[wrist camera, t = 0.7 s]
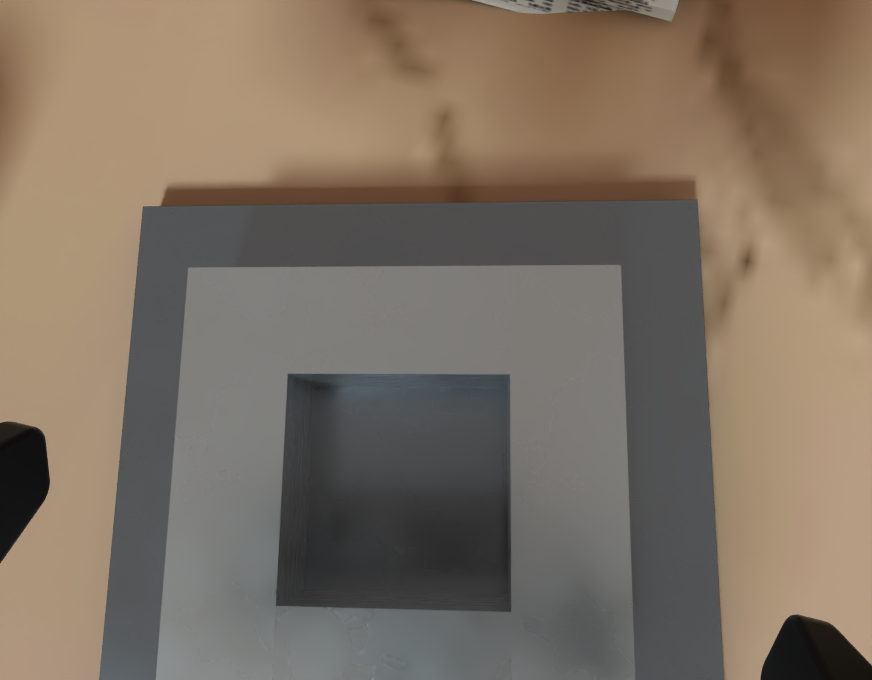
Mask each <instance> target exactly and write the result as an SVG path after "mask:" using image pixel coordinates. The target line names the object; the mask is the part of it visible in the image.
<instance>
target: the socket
mask: <svg viewBox="0 0 872 680" xmlns="http://www.w3.org/2000/svg"><path fill="white" fill-rule="evenodd" d="M99 680H724V670H723V652H722V634H721V616H720V599H719V581H718V563H717V545H716V527H715V509H714V491H713V473H712V455H711V437H710V419H709V401H708V383H707V365H706V347H705V329H704V311H703V293H702V275H701V257H700V239H699V221H698V203H697V200H640V201H557V202H475V203H393V204H311V205H229V206H146V207H143V212H142V223H141V234H140V244H139V255H138V266H137V277H136V288H135V299H134V309H133V320H132V331H131V342H130V353H129V364H128V374H127V385H126V396H125V407H124V418H123V429H122V439H121V450H120V461H119V472H118V483H117V494H116V504H115V515H114V526H113V537H112V548H111V559H110V569H109V580H108V591H107V602H106V613H105V624H104V634H103V645H102V656H101V667H100V678H99Z"/></svg>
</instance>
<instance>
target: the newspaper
mask: <svg viewBox="0 0 872 680" xmlns="http://www.w3.org/2000/svg"><path fill="white" fill-rule="evenodd" d="M474 1H477V2H481V3H485V4H489V5H493V6H496V7H500V8H504V9H508V10H512V11H515V12H519V13H533V14H551V13H564V12H592V11H620V10H630V11H633V12H637V13H641V14H645V15H648V16H652V17H656V18H659V19H663V20H667V21H670V22H672V19H673V17H674V14H675V12H676V9H677V6H678V3H679V0H474Z"/></svg>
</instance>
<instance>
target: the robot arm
mask: <svg viewBox="0 0 872 680" xmlns="http://www.w3.org/2000/svg"><path fill="white" fill-rule="evenodd" d="M49 484H50V477H49V468H48V459H47V450H46V440H45V436H44V434H43V433H42V431H41V430H40V429H38V428H36V427H33V426H29V425H25V424H20V423H16V422H2V423H0V563H1V561H2V560H3V559H4V557H5V556H6V554H7V553H8V552H9V550H10V549H11V547H12V546H13V544H14V543H15V542H16V540H17V539H18V537H19V536H20V535H21V533H22V532H23V530H24V529H25V527H26V526H27V525H28V523H29V522H30V520H31V519H32V518H33V516H34V515H35V513H36V512H37V510H38V509H39V508H40V506H41V505H42V503H43V502H44V500H45V498H46V496H47V493H48V490H49ZM761 680H872V665H871V664H870V663H869V662H868V661H867V660H866V659H865V658H864V657H863V656H862V655H861V654H860V653H859V652H858V651H857V650H856V649H855V647H854V646H853V645H852V644H851V643H850V642H849V641H848V640H847V639H846V638H845V637H844V636H843V635H842V634H841V633H840V632H839V631H838V630H837V629H836V628H835V627H834V626H833V625H832V624H830V623H828V622H825V621H822V620H818V619H813V618H809V617H805V616H801V615H792V616H789V617H788V618H787V619H786V621H785V622H784V624H783V626H782V628H781V630H780V632H779V634H778V636H777V638H776V640H775V642H774V644H773V646H772V648H771V650H770V652H769V654H768V656H767V658H766V660H765V662H764V665H763V668H762V673H761Z"/></svg>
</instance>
